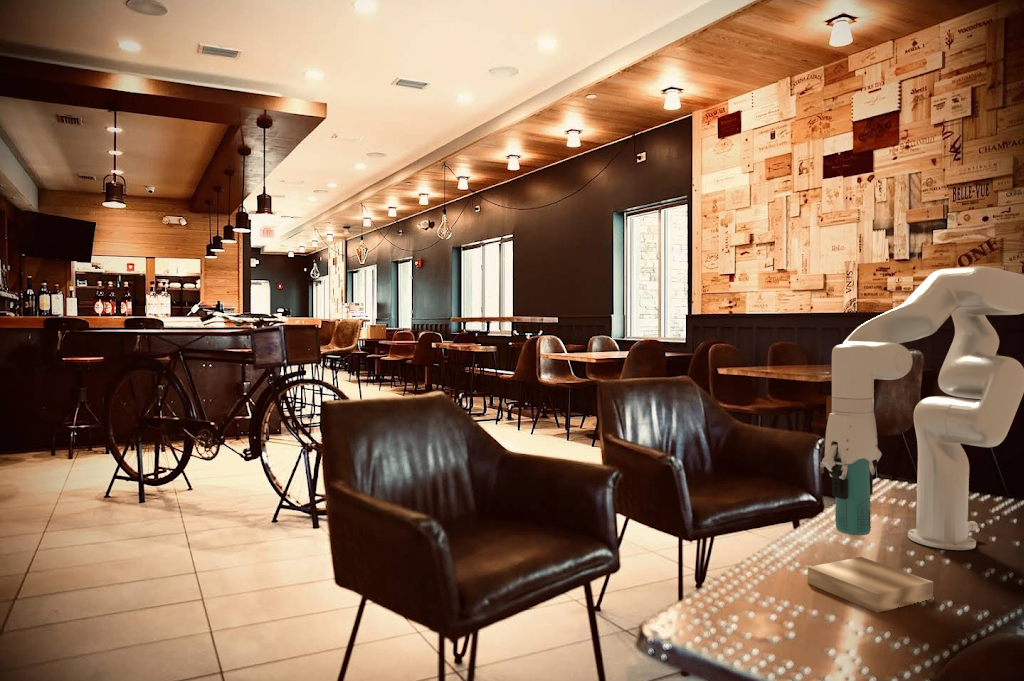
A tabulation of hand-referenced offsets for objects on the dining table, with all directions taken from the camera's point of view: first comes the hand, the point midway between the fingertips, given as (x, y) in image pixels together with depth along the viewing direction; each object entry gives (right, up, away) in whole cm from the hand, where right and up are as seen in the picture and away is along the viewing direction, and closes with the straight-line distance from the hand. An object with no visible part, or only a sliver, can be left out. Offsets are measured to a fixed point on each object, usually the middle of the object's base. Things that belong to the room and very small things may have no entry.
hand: (852, 494), depth 139 cm
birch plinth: (-5, -13, -16) cm, 22 cm away
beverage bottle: (0, -9, 0) cm, 9 cm away
